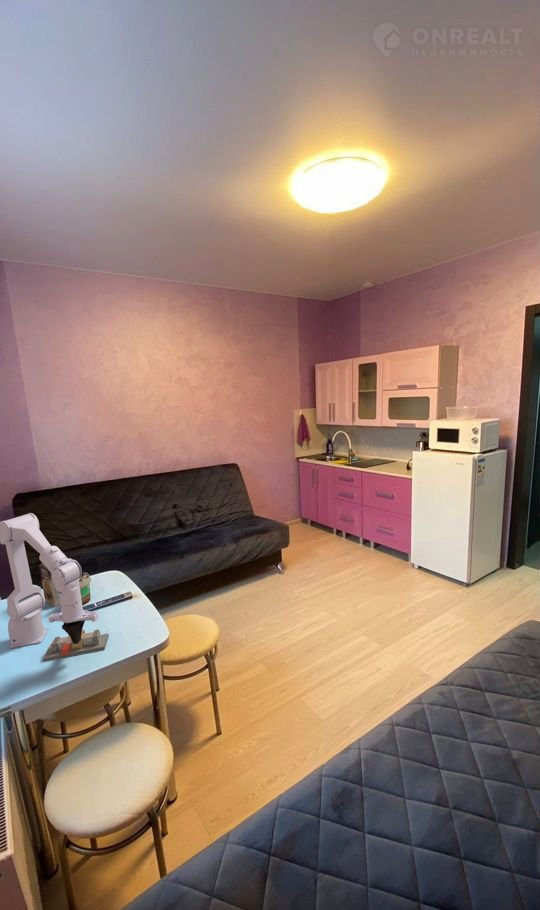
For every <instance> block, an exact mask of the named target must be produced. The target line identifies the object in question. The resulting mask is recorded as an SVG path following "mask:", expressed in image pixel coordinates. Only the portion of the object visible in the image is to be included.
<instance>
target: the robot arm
mask: <svg viewBox="0 0 540 910" xmlns="http://www.w3.org/2000/svg"><path fill="white" fill-rule="evenodd" d="M39 522H40V521H39V519H38V517H37V516H36V515H35V514H34V513H31V512H29V513H27V514H23V515H19V516H16V517H14V518H10V519H6V520H2V521H0V545H5V547H6V553H7V558H8V562H9V567H10V572H11V576H12V580H13V581H12V582H13V587H14V590H13V591H12V592H11V593H10V594H9V596H8V597H6V602H7V604H6V605H7V606H6V610H7V611H6V612H7V614H8V617H10V618H9V620H8V622H7V631H8V637H9V642H10V645H9V648H13V649H14V648H17V647H24V646H28V645H29V646H30V645H33V644H39V643H42V641H43V639H44V638H45V636H46V634H47V633H48V631H49V628H48V627H45V628H44V623H43V618H42V611H43V610H44V609H43V607H45V604H46V602H45V597H44V592H43V589H42V588H41V586H38V585H36V584H33V580H32V576H31V571H30V566H29V561H28V555H27V551H26V547H25V541H26V542H27V543H28V544H29V545H30V546H31V547H32V548H33V549H34V550H36V552H38V553H39V560H40V562H41V564H42V563H43V564H44V565H45V566H46V567H47V568H48V570H49V571H50V572H51V573H52V576H51V577H52V580H53V582H54V584H55V587H56V590H57V591H58V592H59V599H60V605H59V606H60V610H61V611H60V612H55V613H51V614H50V615H49V616H47V617H48V622H49V624H50V623H51V624H52V623H54V622H62V623H63V624H62V625H61V629H62V630H63V631H64V632H65V633H66V634H67V636H68V635H69V636H70V638H71V640H72V642H73V644H78V643H79V642H80V640H81V634H82V630H84V629H83V628H84V626H85V622H86V621H87V622H88V621H91V622H93V623H94V622H96V621H98V619H99V613H98V611H89V610H85V609H84V608H83V607H84V606H82V600H81V593H80V586H79V580H78V578H79V577H81V576H82V575H83V571H82V570H83V569H82V566H81V565H80V563H79V562H78V561H77V560H75V559H72V558H71V557H70V558H68V557H67V556H66V554H65V553H64V552H63V551H61V549H60V548H59V546H56V545H51V544H50V542H49V541H48V540H47V537H45V535H44V534H43V533H42V531H41V530H40V523H39Z"/></svg>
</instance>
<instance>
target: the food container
mask: <svg viewBox="0 0 540 910" xmlns="http://www.w3.org/2000/svg"><path fill="white" fill-rule="evenodd" d="M78 580H79V586H80V593H81V600H82V607H84V606H85V605H86V604H89V602H90V601H91V582H92V578H91V575H89V573H88V572H83V571H82V575H81V577H79V578H78Z"/></svg>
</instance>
